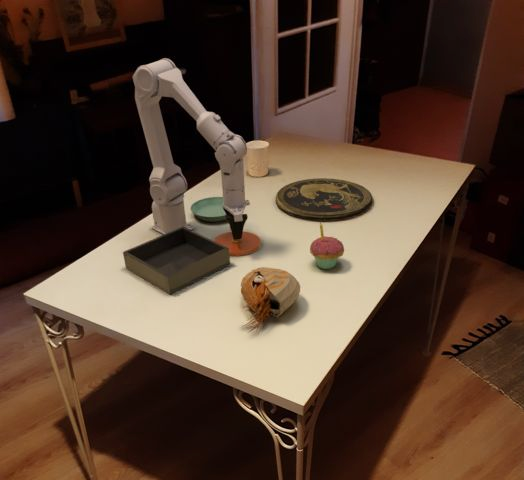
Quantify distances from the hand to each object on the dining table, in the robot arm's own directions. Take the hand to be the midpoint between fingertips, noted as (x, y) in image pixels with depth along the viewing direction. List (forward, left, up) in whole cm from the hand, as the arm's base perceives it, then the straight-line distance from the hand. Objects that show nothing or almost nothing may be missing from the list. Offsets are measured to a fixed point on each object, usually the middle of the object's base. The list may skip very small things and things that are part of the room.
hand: (236, 234), depth 153 cm
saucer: (-19, +9, -3) cm, 21 cm away
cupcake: (+25, +8, -3) cm, 26 cm away
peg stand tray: (-2, -18, -3) cm, 19 cm away
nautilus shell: (+28, -18, -3) cm, 33 cm away
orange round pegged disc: (0, 0, -3) cm, 3 cm away
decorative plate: (-1, +38, -3) cm, 38 cm away
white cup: (-33, +41, -3) cm, 53 cm away
